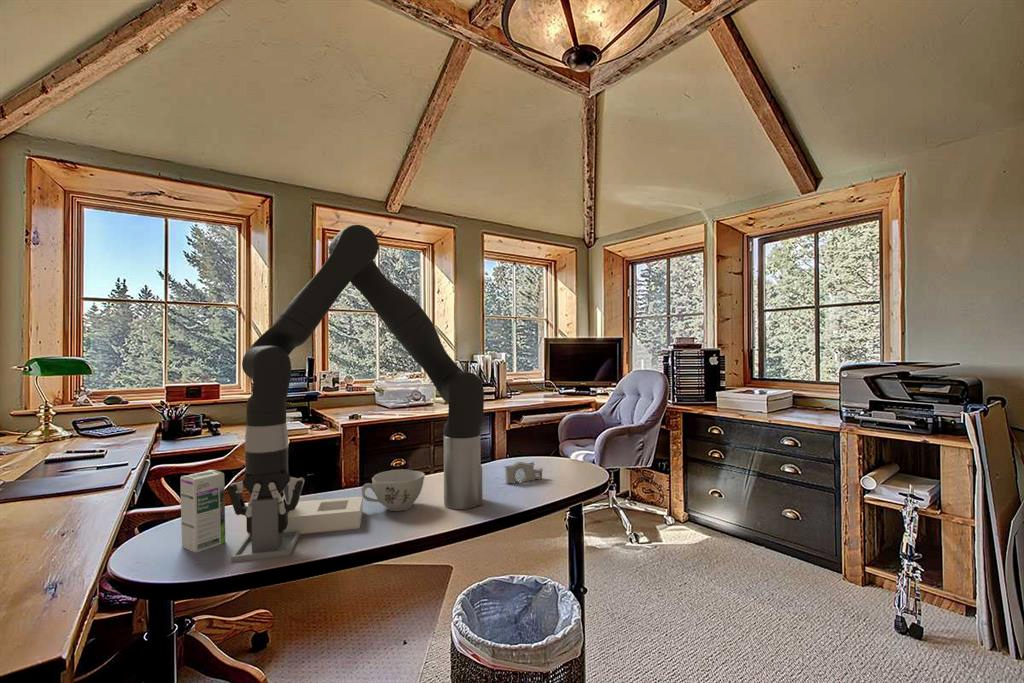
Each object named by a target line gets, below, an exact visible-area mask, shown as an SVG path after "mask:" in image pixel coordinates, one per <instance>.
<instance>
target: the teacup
mask: <svg viewBox="0 0 1024 683" xmlns="http://www.w3.org/2000/svg"><path fill="white" fill-rule="evenodd" d="M425 476H426V474H425V473H424V472H422V471H419V470H413V469H403V468H401V469H391V470H388V471H387V470H386V471H382V472H381V471H380V472H378V473H377V474H374V476H373V477H371V481H372V482H371V483H370V482H367V483H364V484H363V485H362V487H361V496H363V499H365V501H367V502H373V503H374V502H375V503H378V504H381V505H382V506H383V507H385V508H386V510H388V511H390V512H402V510H403V511H407V510H409V509H410V508H411V507H412V506H413V504H414V503H415V502H416V501H417V499H418V498H419V496H420V494H421V492H422V489H423V486H424V480H425ZM368 488H370V489H371V491H372V492H373V493H374V494H375V496H376V498H373V497H369V496H367V495H366V494H365V492H366V490H367V489H368ZM408 508H409V509H408Z"/></svg>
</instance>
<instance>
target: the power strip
mask: <svg viewBox="0 0 1024 683" xmlns="http://www.w3.org/2000/svg"><path fill="white" fill-rule="evenodd" d="M283 491H284V493H285V497H286V501H287V504H288V503H290V502H291V499H292V495H293V492H294V490H293V489H292V488H291V484H290V483H288V484H287V486H286V487H285V488H284V490H283ZM363 499H364V498H363V496H362V495H361V496H350V497H349V496H348V497H337V498H327V499H324V498H323V499H315V500H314V499H313V500H304V501H303V500H301V501H300V500H299V502H298V504H297V506H296V508H295V509H294V510H291V511H289V512H288V525H287V528H286V529H285V530H284V531H283V532H288V531H298V530H300V535H302V534H311V533H312V534H314V533H323V532H334V531H342V530H343V531H344V530H345V531H346V530H354V529H356V530H357V529H360V528H361V522H362V517H363V512H364V511H363V508H364V507H363ZM247 535H250V533H247Z"/></svg>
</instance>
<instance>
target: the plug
mask: <svg viewBox="0 0 1024 683" xmlns="http://www.w3.org/2000/svg"><path fill="white" fill-rule="evenodd" d="M280 496H281V494H280ZM279 514H280V513H279V510H278V499H273V498H265V499H257V500H254V499H253V501H252V553H262V552H271V551H278V549H279V547H280V545H281V544H282V542H283V533H279Z"/></svg>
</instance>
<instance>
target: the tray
mask: <svg viewBox="0 0 1024 683" xmlns="http://www.w3.org/2000/svg"><path fill="white" fill-rule="evenodd" d="M300 536H301V534H300V530H298V531H288V532H283V542H282V544H281V545H280V547H279V549H278V551H271V552H262V553H252V536H250V535H248V534H247V535H246V536H245V538H244V539H243V541H242V542H241V544H240V545H239V546H238V547H237V548H236V550H235V551H234V552H233V553H232V555H231V556H230V562H231V563H233V562H242V561H254V560H262V559H270V558H272V559H273V558H281V557H289V556H291V554H292V553H293V550H294V548H295V545H296V543H297V542H298V540H299V537H300Z"/></svg>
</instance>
